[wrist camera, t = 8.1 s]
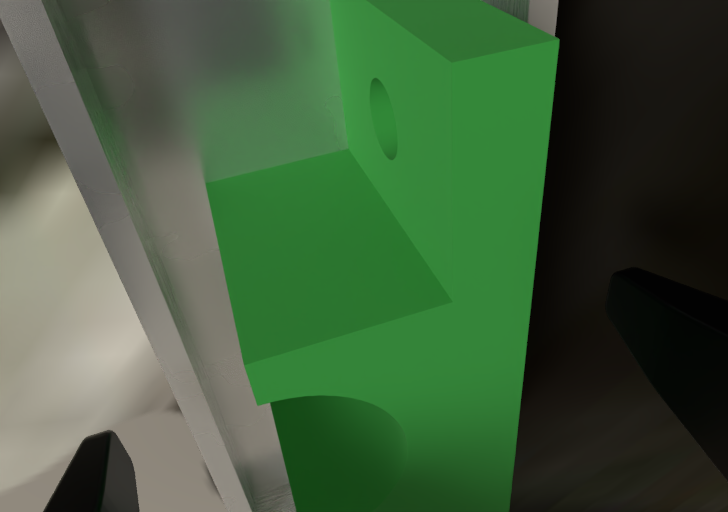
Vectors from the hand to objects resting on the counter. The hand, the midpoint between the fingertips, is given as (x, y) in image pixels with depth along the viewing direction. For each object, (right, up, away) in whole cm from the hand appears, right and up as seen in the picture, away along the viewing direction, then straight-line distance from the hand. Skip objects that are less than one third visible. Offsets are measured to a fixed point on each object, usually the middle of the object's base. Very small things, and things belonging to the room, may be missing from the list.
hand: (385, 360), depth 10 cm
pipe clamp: (-1, +2, +2) cm, 3 cm away
